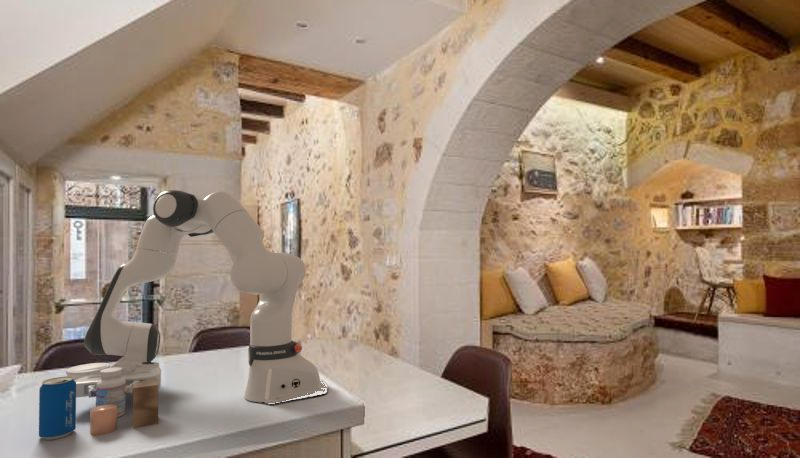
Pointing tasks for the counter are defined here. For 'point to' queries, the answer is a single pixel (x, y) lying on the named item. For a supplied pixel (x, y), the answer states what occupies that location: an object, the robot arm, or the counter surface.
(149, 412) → the walnut block
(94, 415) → the peach rounded block
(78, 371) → the ramekin
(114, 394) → the pill bottle
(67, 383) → the beverage can
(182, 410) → the counter surface
